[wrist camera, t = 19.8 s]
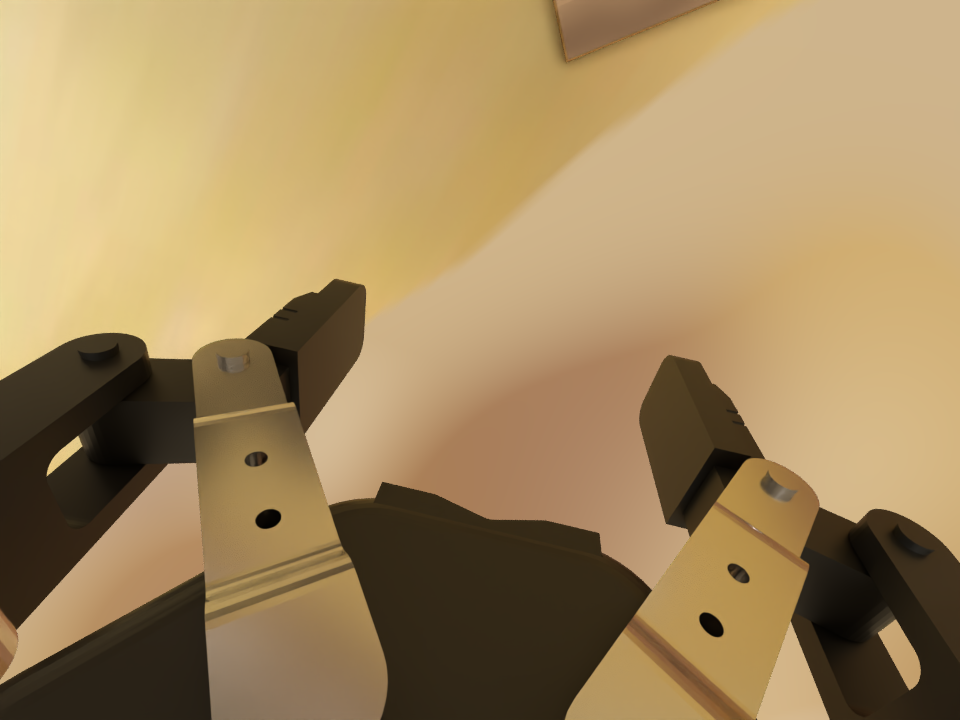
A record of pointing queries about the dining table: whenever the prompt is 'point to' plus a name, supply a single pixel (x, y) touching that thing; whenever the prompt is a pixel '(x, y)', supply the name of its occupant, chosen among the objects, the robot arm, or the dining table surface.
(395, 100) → the dining table surface
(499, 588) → the robot arm
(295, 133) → the dining table surface
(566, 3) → the block
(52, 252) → the dining table surface
